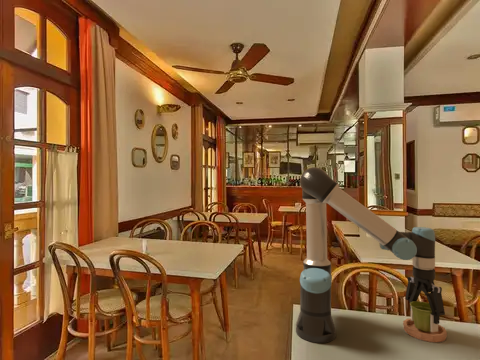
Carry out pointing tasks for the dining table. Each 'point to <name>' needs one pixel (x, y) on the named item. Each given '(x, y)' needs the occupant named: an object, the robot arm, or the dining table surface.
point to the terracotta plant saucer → (424, 332)
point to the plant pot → (421, 315)
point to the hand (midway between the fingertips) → (423, 325)
